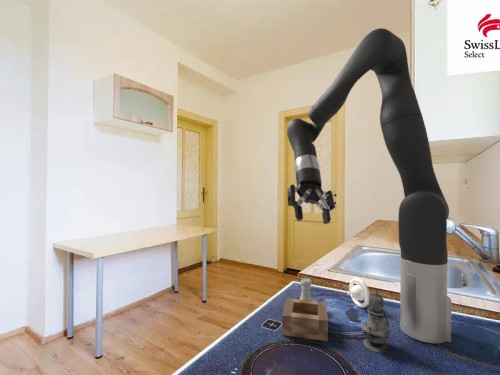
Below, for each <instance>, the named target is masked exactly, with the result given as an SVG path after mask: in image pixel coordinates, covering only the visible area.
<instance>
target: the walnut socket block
mask: <svg viewBox="0 0 500 375" xmlns="http://www.w3.org/2000/svg"><path fill="white" fill-rule="evenodd" d="M327 310H328V309H327V303H326V301H318V300H313V301H311V300H301V299H300V298H290V297H287V298H286V299H285V303H284V308H283V313H282V331H281V332H282V336H288V337H294V338H301V339H308V340H318V341H325V342H329V340H328V339H329V318H328V311H327Z"/></svg>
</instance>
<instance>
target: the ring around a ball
mask: <svg viewBox="0 0 500 375" xmlns="http://www.w3.org/2000/svg"><path fill="white" fill-rule="evenodd" d="M355 283H358V284H355ZM354 284H355V285H354ZM348 288H349V289H348V292H347V296H350V297H351V299H352V301H353V303H354V304H355V305H356V306H357V307H360V308H366V307H368V306H369V295H370V290H369V287H368V285H367V283H366V282H365V281H364V280H363V279H362V278H360V277H354V278H352V279H351V280H350V282H349V286H348ZM359 301H364V302H359Z"/></svg>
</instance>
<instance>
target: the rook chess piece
mask: <svg viewBox="0 0 500 375" xmlns="http://www.w3.org/2000/svg"><path fill="white" fill-rule="evenodd" d="M300 284H301V287H300V288H301V293H300V298H299V299H301V300H311V301H314V300H313V298H312V293H311V289H312V286H311V285H312V284H313V282H312V279H311V278H307V277H302V278H301V280H300Z"/></svg>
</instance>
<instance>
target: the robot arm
mask: <svg viewBox="0 0 500 375" xmlns="http://www.w3.org/2000/svg"><path fill="white" fill-rule="evenodd" d="M369 71H373V73H374V74H375V76H376V78H377V81H378V84H379V87H380V92H381V105H380V114H379V123H380V128H381V133H382V136H383V141H384V144H385V147H386V149H387V151H388V154H389V156H390V158H391V159H392V160H391V161H392V163H393V164H394V166H395V168H396V169H397V173H399V176H400V177H399V178H400V179H401V183H402V184H401V185H402V188H403V189H402V190H403V194H404V198H403V199H402V200H401V202H400V204H399V207H398V217H397V218H398V245H399V249H400V291H399V294H400V295H399V296H400V299H399V300H400V303H399V306H400V307H399V308H400V309H399V311H400V312H399V313H400V314H399V325H400V326H399V328H400V330H401V331H402V333H404V334H405V335H407V336H409V337H410V338H412V339H415V340H416V341H417V340H418V341H420V342H424V343H429V344H444V343H447V342H448V343H451V342H452V299H451V297H449V295H448V254H449V253H448V246H447V220H448V218H449V216H450V207H449V205H448V202H447V200H446V198H445V196H444V194H443V191H442V189H441V187H440V184H439V182H438V179H437V177H436V173H435V169H434V164H433V161H432V160H433V159H432V152H431V145H430V141H429V137H428V132H427V128H426V125H425V121H424V118H423V114H422V111H421V108H420V103H419V102H418V98H417V94H416V92H415V89H414V87H413V84H412V80H411V76H410V68H409V61H408V55H407V49H406V46H405V43H404V41H403V40H402V39H401V38H400V37H399V36H397V35H396V34H395V33H393V32H392V31H390V30H388V29H386V28H376V29H373V30H372V31H370V32H369V33H367V34H366V35H365V37H363V38H362V40H361V41H360V42H359V44H358V46H357V47H356V48H355V50H354V51H353V52H352V54H351V55H350V57H349V59H348V60H347V62H346V63H345V64H344V65H343V67H342V69H340V71H339V73H338V74H337V76H336V78H335V79H334V80H333V82H332V83H331V84H330V85H329V86H328V88H326V90H325V92H324V93H323V94H321V96H320V97H319V98H318V99H317V100H316V101H315V103H314V104H312V106H311V107H310V108H309V110H308V112H307V115H308V118H309V119H310V120H311V122H309V121H308V122H307V121H306V120H304V119H301V118H299V117H298V118H293V119H292V120H290V122H289V123H288V125H287V128H286V129H287V130H286V136H287V138H288V140H289V141H288V142H289V144H290V146H291V149H292V151H293V154H294V155H293V156H294V173H295V182H296V183H295V184H296V186H295V185H294V184H291V185H290V186H289V187H288V188H287V206H289V207H292V208H294V214H295V216H294V218H295V220H297V221H298V222H301V221H302V220H303V219H304V214H303V206H302V205H303V203H305V204H309V203H310V204H312V205H315V206H316V207H318V208H319V209H320V210H321V215H322V221H323V225H327V224H329V223H330V222H331V220H332V219H331V213H330V212H331V211H333V210H334V209H336V205H335V200H334V196H333V192H332V191H331V190H327V191H324V190H323V189H322V184H323V182H322V178H321V177H322V176H321V169H320V164H319V161H318V160H319V159H318V154H317V150H316V146H315V145H314V142H315V141H316V140H317V139H318V138H319V136H320V134H321V133H322V131H323V129H324V127H325V126H326V124H327V123H328V122H329V121H330V120H331V119H332V118H333V117H334V116H335V115H336V114H337V113H338V112H339V111H340V110H341V109H342V108H343V106H344V104H345V103H346V100H347V99H348V97H349V94H350V92H351V91H352V89H353V87H354V86H355V85H356V84H357V82H358V81H359V80H360V79H361V78H362V77H363V76H365V74H366V73H368V72H369ZM296 194H297V195H298V196H299V197H298V199H297V200H296Z"/></svg>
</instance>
